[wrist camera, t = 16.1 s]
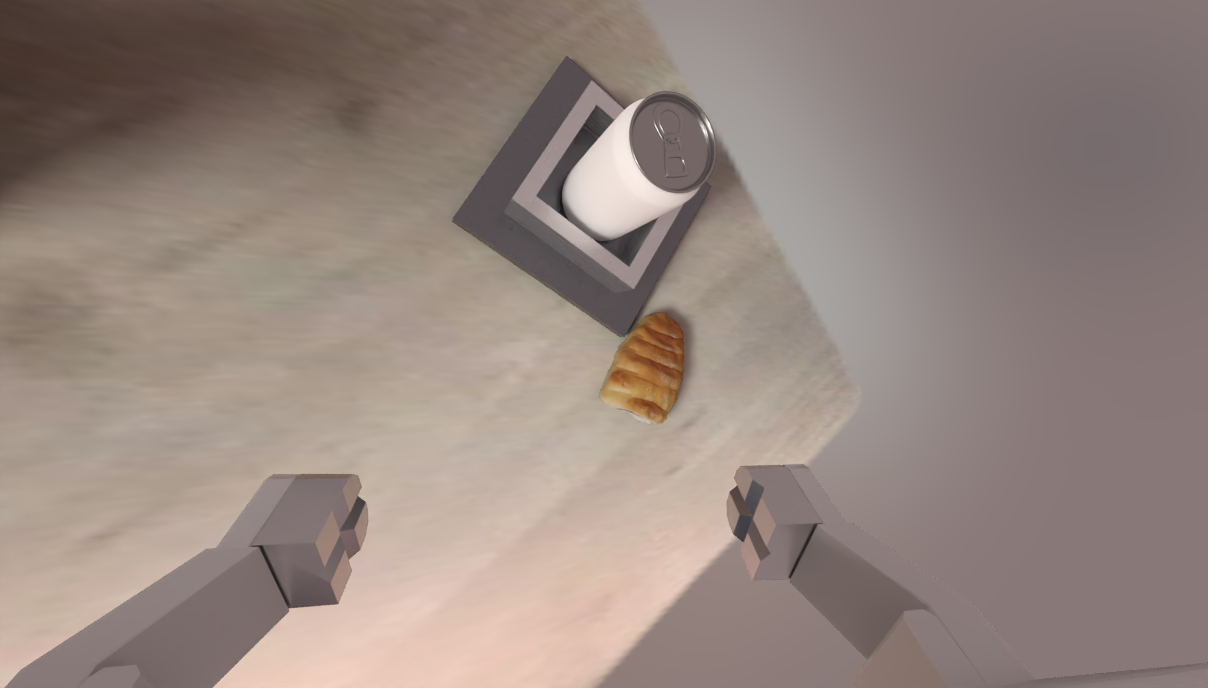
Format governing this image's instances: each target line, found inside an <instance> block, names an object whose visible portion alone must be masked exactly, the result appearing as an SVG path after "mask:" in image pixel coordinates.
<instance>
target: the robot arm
mask: <svg viewBox="0 0 1208 688" xmlns="http://www.w3.org/2000/svg"><path fill="white" fill-rule="evenodd" d="M734 479H735V481H736V483H737V486H736V487H735V488H734V489H732V490H731V491H730V492H729V496H728V499H727V517H728V521H729V525H730V527H731V530H732V533H733V534H734V535H735V536H736V537H737V538H738V539H740V540H741V541H742V542H743V546H742V549H741V554H742V557H743V559H744V562H745V564H746V566H747V569H748V571H749V574H750V576H751V578H752V580H788V579H790V583H791V584H792V585H793V586H794V587H795V588H796V589H797V590H798V591H799V592H800V593H801V594H802V595H803V596H804V597H805V598H806V599H807V600H808V601H809V602H810V603H811V604H812V605H813V606H814V607H815V608H816V609H817V610H818V611H819V612H820V613H821V614H822V615H823V616H824V617H825V618H826V619H827V620H828V621H829V622H830V623H831V624H832V625H833V626H834V627H835V628H836V629H837V630H838V631H839V632H840V633H841V634H842V635H843V636H844V637H845V638H846V639H847V640H848V641H849V642H850V643H851V644H852V645H853V646H854V647H855V648H856V649H857V650H858V651H859V652H860V653H861V654H862V655H863V656H864V657H865V658H866V659H867V661H866V663H865V664H864V665H863V667H862V668H861V669H860V671H859V672H858V673H857V675H856V677H855V679H854V682H853V684H854V686H855V688H1208V662H1205V663H1196V664H1186V665H1177V666H1167V667H1157V668H1147V669H1136V670H1126V671H1116V672H1106V673H1095V674H1086V675H1075V676H1064V677H1054V678H1044V679H1035V678H1034V677H1033V676H1032V675H1031V673H1030V672H1029V671H1028V670H1027V668H1026V667H1025V666H1024V665H1023V664H1022V662H1021V661H1020V660H1019V659H1018V658H1017V656H1016V655H1015V654H1014V653H1013V651H1012V650H1011V649H1010V648H1009V646H1008V645H1007V644H1006V643H1005V642H1004V640H1003V639H1002V638H1001V637H1000V635H999V634H998V633H997V632H996V631H995V630H994V628H993V627H992V626H991V624H990V623H989V622H988V621H987V620H986V618H985V617H984V616H983V615H982V613H981V612H980V611H979V610H978V609H977V607H976V606H975V605H974V604H973V603H971V602H970V601H968V600H967V599H965V598H964V597H962V596H961V595H959V594H958V593H957V592H955V591H953V590H952V589H951V588H949V587H948V586H946V585H945V584H943V583H942V582H940V581H939V580H937V579H936V578H934V577H932V576H931V575H930V574H928V573H927V572H925V571H924V570H922V569H921V568H919V567H918V566H916V565H915V564H913V563H911V562H910V561H909V560H907V559H906V558H904V557H903V556H901V555H900V554H898V553H897V552H896V551H894V550H893V549H891V548H890V547H888V546H887V545H885V544H884V543H882V542H880V541H879V540H877V539H876V538H875V537H873V536H872V535H870V534H869V533H867V532H866V531H864V530H863V529H861V528H860V527H858V526H857V525H855V524H854V523H846V521H845V520H844V518H843V517H842V516H841V514H840V512H839V511H838V509H837V508H836V507H835V505H834V504H833V502H832V501H831V499H830V498H829V497H828V495H827V493H826V492H825V491H824V489H823V488H822V486H821V485H820V483H819V482H818V480H817V479H816V478H815V476H814V475H813V473H812V472H811V470H810V469H809V468H808V467H807V466H805V465H804V464H794V465H757V466H740V467H739V468H738V469H737V471H736V474H735V477H734ZM361 488H362V486H361V483H360V480H359V477H358V475H355V474H273V475H272V476H270V477H269V478H267V479H266V480H265V481H264V482H263V484H262V485H261V486H260V488H259V489H258V491H257V492H256V493H255V495H254V496H253V498H252V499H251V500H250V502H249V503H248V504H247V506H246V507H245V509H244V510H243V511H242V513H241V514H240V516H239V517H238V518H237V520H236V521H235V523H234V524H233V525H232V527H231V528H230V529H229V531H228V532H227V534H226V535H225V536H224V538H223V539H222V541H221V542H220V543H219V545H218V546H217V547H216V548H212V549H206V550H204V551H203V552H201V553H200V554H198V555H196V556H195V557H193V558H192V559H190V560H189V561H187V562H186V563H184V564H183V565H181V566H180V567H178V568H177V569H175V570H173V571H172V572H170V573H169V574H167V575H166V576H164V577H163V578H161V579H160V580H158V581H157V582H155V583H153V584H152V585H150V586H149V587H147V588H146V589H144V590H143V591H141V592H140V593H138V594H137V595H135V596H133V597H132V598H130V599H129V600H127V601H126V602H124V603H123V604H121V605H120V606H118V607H117V608H115V609H114V610H112V611H110V612H109V613H107V614H106V615H104V616H103V617H101V618H100V619H98V620H97V621H95V622H94V623H92V624H90V625H89V626H87V627H86V628H84V629H83V630H81V631H80V632H78V633H77V634H75V635H74V636H72V637H71V638H69V639H67V640H66V641H64V642H63V643H61V644H60V645H58V646H57V647H55V648H54V649H52V650H51V651H49V652H47V653H46V654H44V655H43V656H41V657H40V658H38V659H37V660H35V661H34V662H32V663H31V664H29V665H27V666H26V667H24V668H23V669H21V670H20V671H19V672H18V674H17V675H16V676H15V677H14V678H13V679H12V680H11V681H10V682H9V683H8V685H7V686H6V687H5V688H213V687H214V686H215V685H216V684H217V683H218V682H219V681H220V680H221V679H222V678H223V677H224V676H225V675H226V674H227V673H228V672H229V671H230V670H231V669H232V668H233V667H234V666H235V665H236V664H237V663H238V662H239V661H240V660H241V659H242V658H243V657H244V656H245V655H246V654H247V653H248V652H249V651H250V650H251V649H252V648H253V647H254V646H255V645H256V644H257V643H258V642H259V641H260V640H261V639H262V638H263V637H264V636H265V635H266V634H267V633H268V632H269V631H270V630H271V629H272V628H273V627H274V626H275V625H276V624H277V623H278V622H279V621H280V620H281V619H282V618H283V617H284V616H285V615H286V614H287V613H288V612H289V609H288V608H298V607H310V606H322V605H334V604H339V601H340V599H341V596H342V594H343V591H344V589H345V586H346V584H347V582H348V579H349V577H350V574H351V572H352V569H351V566H350V563H349V559H350V558H351V557H352V556H354V555H355V554H356V553H357V552H358V551H359V550H361V547H362V544H363V542H364V539H365V536H366V531H367V526H368V509H367V505H366V502H365V501H364V500H362V499H361V498H360V497H358V494H359V492H360V490H361Z"/></svg>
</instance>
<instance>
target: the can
mask: <svg viewBox="0 0 1208 688" xmlns="http://www.w3.org/2000/svg"><path fill="white" fill-rule="evenodd" d="M716 152H717V148H716V139H715V134H714V131H713V128H712V126H711V123H710V121H709V119H708V118H707V116H706V115H705V113H704V112H703V110H702V109H701V108H700V107H699V106H698V105H697V104H696V103H695V102H694V101H692V100H691V99H689V98H688V97H686V96H684V95H682V94H679V93H676V92H670V91H663V92H657V93H654V94H652V95H650V96H648V97H647V98H645V99H641V100H638V101H636V102H634V103H633V104H631V105H630V106H628V107H627V108H626V109H625V110H624V111H623V112H622V113H621V114H620V115H619V116H618V117H617V118H616V119H615V120H614V121H613V123H612V124H611V125H610V126H609V127H608V128H607V129H606V131H605V132H604V133H603V134H602V135H601V136H600V137H599V139H598V140H597V141H596V142H595V143H594V144H593V145H592V147H591V148H590V149H589V150H588V151H587V152H586V154H585V155H584V156H583V157H582V158H581V159H580V161H579V162H578V163H577V164H576V165H575V166H574V168H573V169H572V170H571V171H570V173H569V174H568V176H567V178H566V180H565V182H564V185H563V190H562V203H563V208H564V211H565V214H566V216H567V218H568V220H569V221H570V222H571V223H572V224H574V225H575V226H576V227H577V228H579V229H580V230H581V231H583V232H584V233H585V234H587V235H588V236H589V237H591V238H592V239H593V240H598V241H609V240H613V239H616V238H618V237H620V236H622V235H625V234H627V233H629V232H631V231H633V230H634V229H636V228H638V227H640V226H642V225H644V224H646V223H648V222H650V221H652V220H654V219H656V218H658V217H660V216H662V215H664V214H666V213H667V212H669V211H671V210H673V209H675V208H677V207H679V206H680V205H682V204H684V203H685V202H687V201H688V200H690V199H691V198H692V197H693V196H694V195H695V194H696V193H697V191H698V190H699V188H700V187H701V186H702V185H703V184H704V183H705V182H706V180H707V179H708V178H709V176H710V175H711V173H712V171H713V168H714V165H715V161H716Z"/></svg>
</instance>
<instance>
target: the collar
mask: <svg viewBox="0 0 1208 688" xmlns="http://www.w3.org/2000/svg"><path fill="white" fill-rule="evenodd" d="M624 110H625V108H624V107H623V106H622V105H620V104H619V103H618V102H617V101H616V100H615V99H614V98H613V97H612V96H611V95H609V94H608V93H607V92H606V91H605V90H604V89H603V88H602V87H601V86H600V85H598V84H597V83H596V82H595V81H594V80H593V79H592V78H591V77H590V76H589V75H587V74H586V73H585V72H584V71H583V70H582V69H581V68H580V67H579V66H578V65H576V64H575V63H574V62H573V61H572V60H571V59H570V58H569V57H568V56H566V57H565V59H564V60H563V62H562V63H561V65H560V66H559V67H558V69H557V70H556V72H555V73H554V75H553V76H552V77H551V79H550V80H549V82H548V83H547V85H546V86H545V87H544V89H543V90H542V92H541V93H540V95H539V96H538V97H537V99H536V100H535V102H534V103H533V105H532V106H531V107H530V109H529V110H528V112H527V113H526V115H525V116H524V117H523V119H522V120H521V122H520V123H519V125H518V126H517V127H516V129H515V130H514V132H513V133H512V135H511V136H510V137H509V139H508V140H507V142H506V143H505V145H504V146H503V148H502V149H501V150H500V152H499V153H498V155H497V156H496V158H495V159H494V160H493V162H492V163H491V165H490V166H489V168H488V169H487V170H486V172H485V173H484V175H483V176H482V178H481V179H480V180H479V182H478V183H477V185H476V186H475V188H474V189H473V190H472V192H471V193H470V195H469V196H468V198H467V199H466V200H465V202H464V203H463V205H462V206H461V208H460V209H459V210H458V212H457V213H456V215H455V216H454V218H453V221H452V222H454V223H455V224H457V225H458V226H460V227H461V228H462V229H464V230H465V231H467V232H468V233H470V234H471V235H473V236H474V237H476V238H477V239H478V240H480V241H481V242H483V243H484V244H486V245H487V246H489V247H490V248H492V249H493V250H494V251H496V252H497V253H499V254H500V255H502V256H503V257H505V258H506V259H508V260H509V261H510V262H512V263H513V264H515V265H516V266H518V267H519V268H521V269H522V270H524V271H525V272H526V273H528V274H529V275H531V276H532V277H534V278H535V279H537V280H538V281H539V282H541V283H542V284H544V285H545V286H547V287H548V288H550V289H551V290H553V291H554V292H555V293H557V294H558V295H560V296H561V297H563V298H564V299H566V300H567V301H569V302H570V303H571V304H573V305H574V306H576V307H577V308H579V309H580V310H582V311H583V312H585V313H586V314H587V315H589V316H590V317H592V318H593V319H595V320H596V321H598V322H599V323H600V324H602V325H603V326H605V327H606V328H608V329H609V330H611V331H612V332H614V333H615V334H616V335H618V336H619V337H625V335H626V333H627V331H628V330H629V328H630V326H631V324H632V323H633V321H634V319H635V317H636V316H637V314H638V312H639V310H640V309H641V307H642V305H643V304H644V302H645V300H646V298H647V297H648V295H649V293H650V291H651V290H652V288H653V286H654V284H655V283H656V281H657V279H658V277H659V276H660V274H661V272H662V271H663V269H664V267H665V265H666V264H667V262H668V260H669V258H670V257H671V255H672V253H673V251H674V250H675V248H676V246H677V244H678V243H679V241H680V239H681V238H682V236H683V234H684V232H685V231H686V229H687V227H688V225H689V224H690V222H691V220H692V218H693V217H694V215H695V213H696V211H697V210H698V208H699V206H700V205H701V203H702V201H703V199H704V198H705V196H706V194H707V192H708V191H709V189H710V187H711V186H710V185H708V184H707V183H706V182H705V183H704V184H703V185H702V186H701V187H700V188H699V190H698V191H697V193H696V194H695V195H694V196H693V197H692V198H691V199H690V200H688V201H687V202H685V203H684V204H682V205H680V206H679V207H677V208H675V209H673V210H671V211H669V212H667V213H666V214H664V215H662V216H660V217H658V218H656V219H654V220H652V221H650V222H648V223H646V224H644V225H642V226H640V227H638V228H636V229H634V230H633V231H631V232H629V233H627V234H625V235H622V236H620V237H618V238H616V239H613V240H609V241H598V240H593V239H592V238H591V237H589V236H588V235H587V234H585V233H584V232H583V231H581V230H580V229H579V228H577V227H576V226H575V225H574V224H572V223H571V222H570V221H569V220H568V218H567V216H566V214H565V211H564V208H563V203H562V190H563V185H564V182H565V180H566V178H567V176H568V174H569V173H570V171H571V170H572V169H573V168H574V166H575V165H576V164H577V163H578V162H579V161H580V159H581V158H582V157H583V156H584V155H585V154H586V152H587V151H588V150H589V149H590V148H591V147H592V145H593V144H594V143H595V142H596V141H597V140H598V139H599V137H600V136H601V135H602V134H603V133H604V132H605V131H606V129H607V128H608V127H609V126H610V125H611V124H612V123H613V121H614V120H615V119H616V118H617V117H618V116H619V115H620V114H621V113H622V112H623V111H624Z"/></svg>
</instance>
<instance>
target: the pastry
mask: <svg viewBox="0 0 1208 688" xmlns="http://www.w3.org/2000/svg"><path fill="white" fill-rule="evenodd" d="M683 346H684V341H683V331H682V330H681V328H680V326H679V325H678V324H677V323H676V322H675V321H674V320H673V319H671V318H670V317H668V315H667V314H665V313H663V312H657V313H654V314H652V315H648V316H645V317H644V318H643V319H642V320H641V322H640V323H639V324H638V325H637V326H636V328H635V329H634V330H633V331H632V332H630V333H629V335H628V337H627V338H626V340H625V341H624V342H623V343H622V344H621V345H620V346H619V348H618V350H617V352H616V354H615V356H614V361H613V363H612V365H611V367H610V369H609V370H608V372H607V375H606V377H605V380H604V383H603V386H602V389H601V391H600V394H599V399H600V401H601V403H603V404H604V405H607V406H609V407H611V408H613V409H615V410H619V411H622V412H626V413H630V414H631V415H632V416H633V417H634V418H635V419H637V420H638V421H641V422H644V423H647V424H660V423H663V422H664V421H665V420H666V419H667V414H668V412H669V411H670V409H671V408H672V406H673V404H674V403H675V401H676V399H677V396H678V390H679V386H680V384H681V381H682V375H683V370H684V367H683V362H684V355H683Z"/></svg>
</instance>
